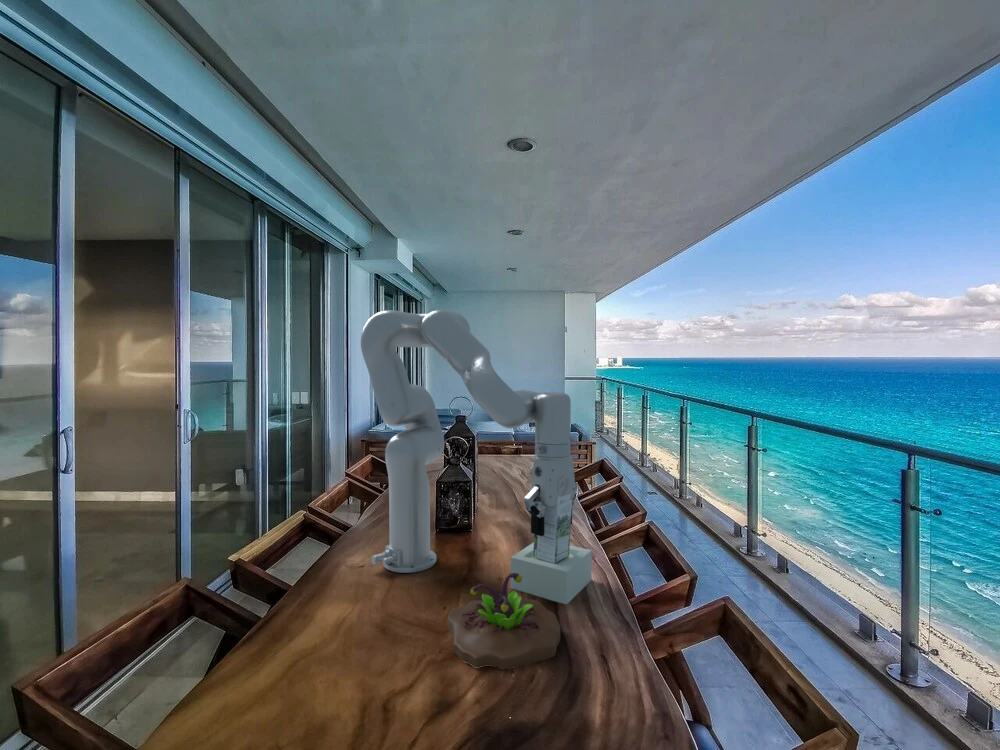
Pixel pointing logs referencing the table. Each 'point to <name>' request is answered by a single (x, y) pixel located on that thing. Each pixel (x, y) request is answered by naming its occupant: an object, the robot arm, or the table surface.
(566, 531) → the syrup box
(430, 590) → the table surface
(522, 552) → the sage block
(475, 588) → the plant
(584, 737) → the table surface
